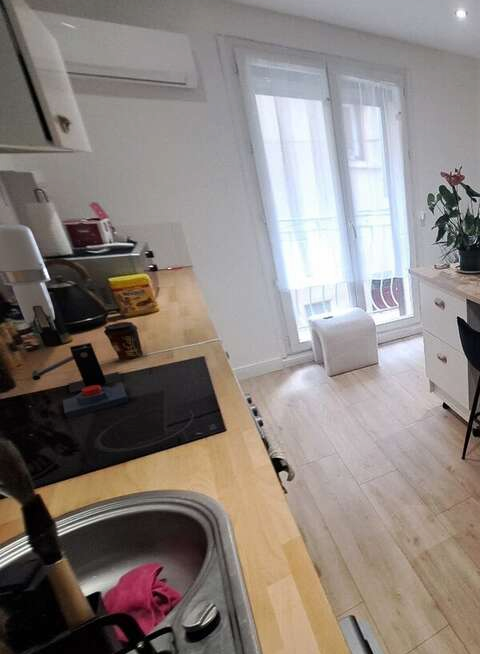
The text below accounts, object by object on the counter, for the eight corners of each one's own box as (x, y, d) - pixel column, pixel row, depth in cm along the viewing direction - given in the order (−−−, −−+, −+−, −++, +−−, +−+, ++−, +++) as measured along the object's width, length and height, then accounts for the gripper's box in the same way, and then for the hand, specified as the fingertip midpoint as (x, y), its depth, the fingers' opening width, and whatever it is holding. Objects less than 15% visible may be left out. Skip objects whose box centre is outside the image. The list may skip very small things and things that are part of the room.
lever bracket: (71, 396, 119) (54, 356, 115) (69, 386, 125) (52, 348, 120) (123, 383, 127) (108, 345, 122) (119, 375, 132) (105, 338, 128)
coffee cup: (109, 362, 142) (95, 326, 137) (138, 353, 149) (126, 319, 144) (124, 366, 139) (110, 330, 134) (153, 357, 146) (141, 322, 141)
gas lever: (37, 382, 115) (29, 376, 113) (36, 377, 118) (29, 371, 116) (93, 354, 122) (86, 348, 120) (91, 350, 125) (84, 344, 123)
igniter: (67, 420, 107) (61, 406, 106) (65, 407, 113) (59, 394, 112) (129, 402, 116) (124, 390, 114) (124, 391, 122) (119, 379, 121)
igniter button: (84, 398, 111) (81, 392, 110) (83, 393, 113) (80, 388, 113) (102, 393, 114) (100, 387, 113) (101, 389, 116) (99, 383, 115)
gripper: (2, 273, 103) (32, 341, 109) (0, 283, 94) (32, 356, 100) (47, 269, 108) (72, 334, 115) (49, 278, 99) (76, 348, 105)
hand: (54, 344), depth 107 cm, fingers closed
